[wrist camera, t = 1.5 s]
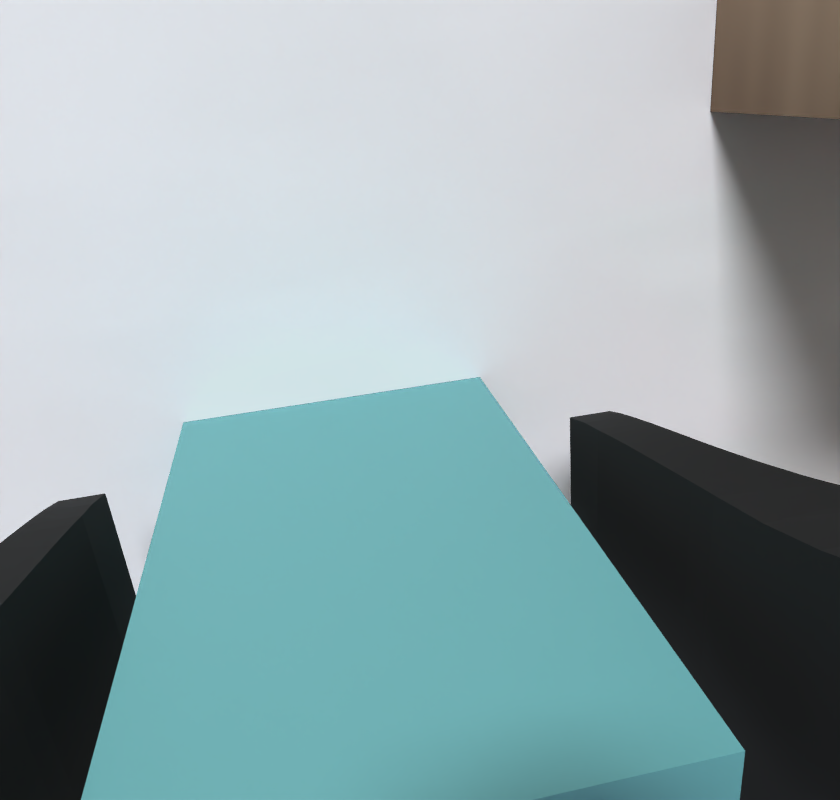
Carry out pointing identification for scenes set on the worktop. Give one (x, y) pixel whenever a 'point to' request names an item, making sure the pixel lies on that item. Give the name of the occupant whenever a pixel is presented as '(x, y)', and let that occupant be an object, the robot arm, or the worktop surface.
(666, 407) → the worktop surface
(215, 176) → the worktop surface
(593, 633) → the teal domino
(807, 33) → the walnut domino
